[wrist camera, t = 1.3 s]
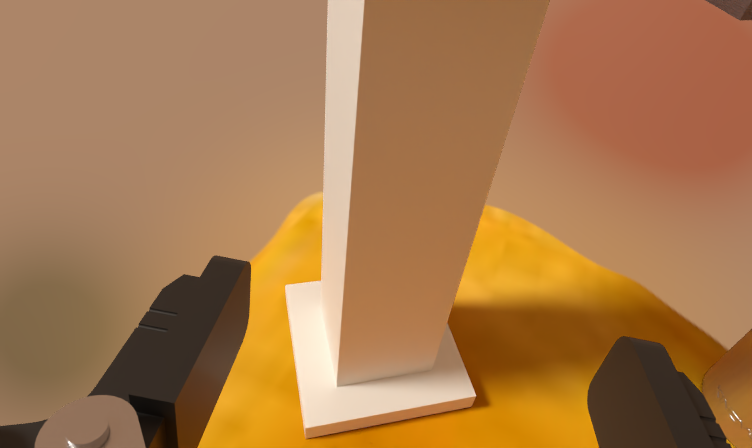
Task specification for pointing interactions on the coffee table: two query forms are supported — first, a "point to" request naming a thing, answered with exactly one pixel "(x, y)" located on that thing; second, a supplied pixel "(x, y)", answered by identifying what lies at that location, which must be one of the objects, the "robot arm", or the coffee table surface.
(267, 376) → the coffee table surface
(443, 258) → the white pillar
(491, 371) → the coffee table surface
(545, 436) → the coffee table surface
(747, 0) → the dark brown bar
